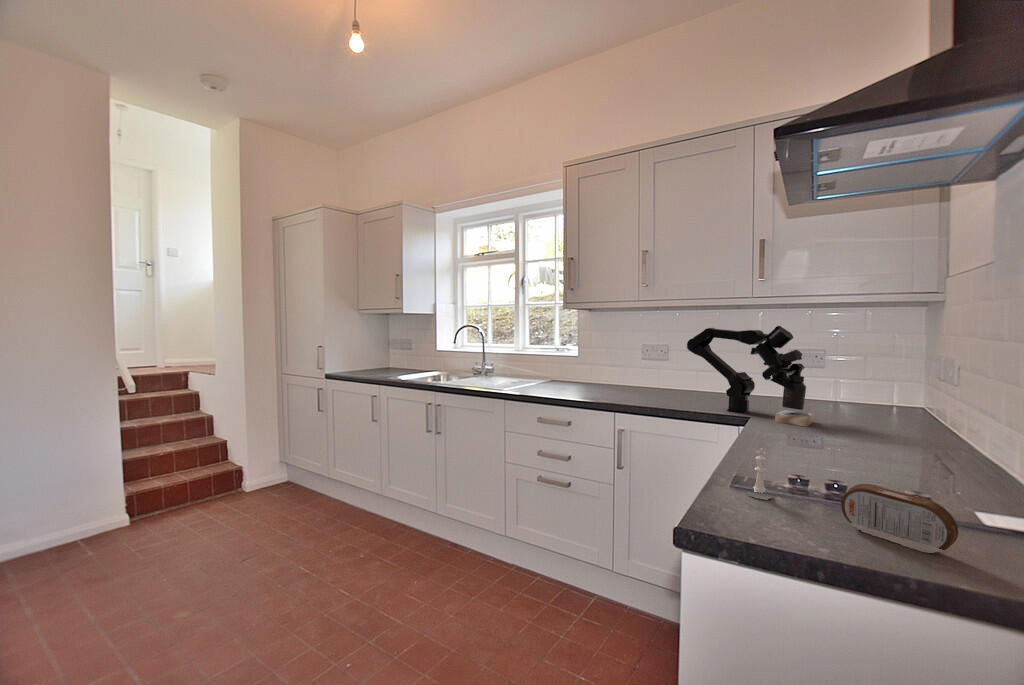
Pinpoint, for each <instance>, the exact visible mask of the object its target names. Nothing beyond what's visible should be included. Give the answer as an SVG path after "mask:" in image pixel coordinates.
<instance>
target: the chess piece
mask: <svg viewBox="0 0 1024 685" xmlns="http://www.w3.org/2000/svg"><path fill="white" fill-rule="evenodd" d="M756 454H758V455H757V456H755V461H756V465H757V466H756V467H755V468H754V470H755V471H757V474H756V480H755V484H754V486H753V487H752V488H754V492H759V493H760V492H761V493H763V492H765V490H767V488H766V487H765V482H764V472H767V469H766V468H764V467H765V464H766V462H767V458H766V457H764V456H763V455H766V454H767V452H766V451H763V448H760V449H759V450H756Z"/></svg>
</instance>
